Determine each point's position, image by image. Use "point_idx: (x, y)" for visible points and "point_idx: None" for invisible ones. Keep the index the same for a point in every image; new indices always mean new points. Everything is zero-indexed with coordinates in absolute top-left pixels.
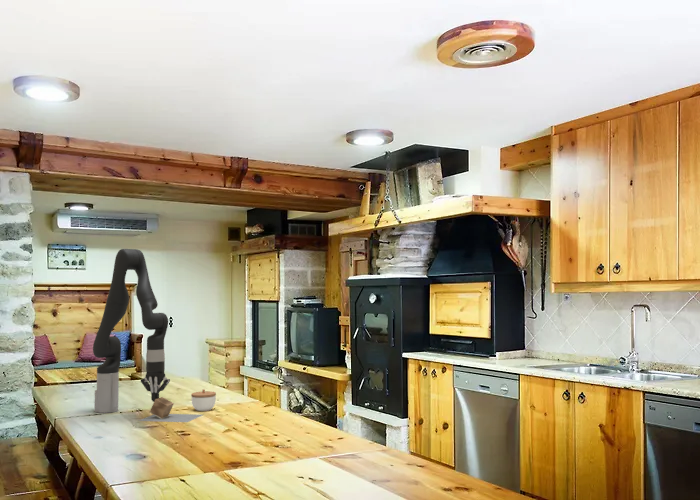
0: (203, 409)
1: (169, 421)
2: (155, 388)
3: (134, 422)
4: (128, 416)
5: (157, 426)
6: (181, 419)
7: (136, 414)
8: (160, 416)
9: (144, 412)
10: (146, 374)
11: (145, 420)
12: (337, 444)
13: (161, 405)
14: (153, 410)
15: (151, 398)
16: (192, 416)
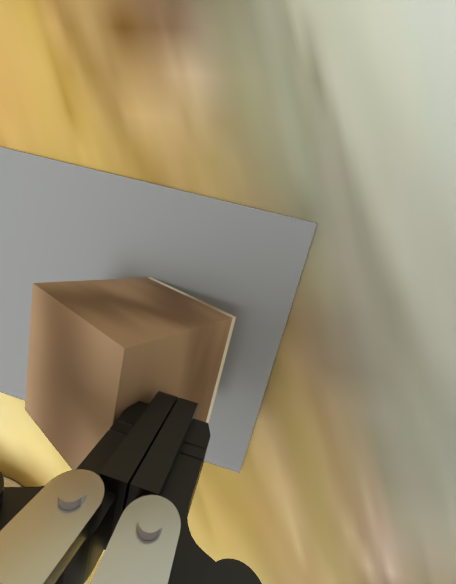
0: None
1: (64, 169)
2: (24, 567)
3: (336, 200)
4: (434, 444)
5: (106, 11)
6: (11, 236)
7: (384, 500)
8: (150, 281)
9: (339, 549)
10: None
11: (253, 227)
12: None
13: (90, 300)
14: (195, 310)
15: (206, 440)
16: None
